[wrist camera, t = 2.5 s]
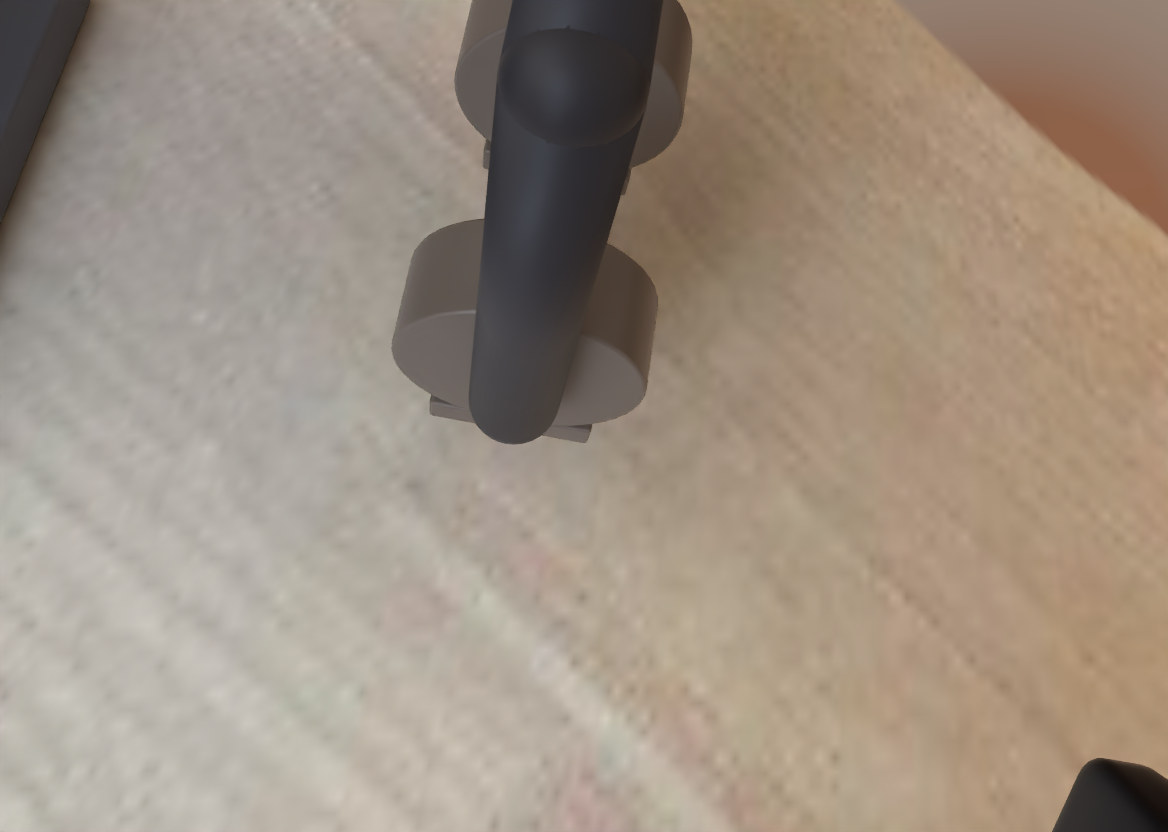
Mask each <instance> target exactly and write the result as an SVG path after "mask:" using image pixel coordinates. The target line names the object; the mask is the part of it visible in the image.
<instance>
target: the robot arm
mask: <svg viewBox="0 0 1168 832" xmlns="http://www.w3.org/2000/svg"><path fill="white" fill-rule="evenodd" d="M1052 832H1168V780H1167V779H1166V778H1164V777H1163V776H1161V775H1160V774H1159V773H1157V772H1156V771H1154V770H1153V769H1151V768H1149V767H1146V766H1143V765H1139V764H1134V763H1128V762H1122V761H1116V760H1111V759H1104V758H1096V759H1094V760H1091V761H1089V762H1088V763H1086V764H1085V765H1084V766H1083V767H1082V769H1081V771H1080V773H1079V774H1078V776H1077V778H1076V781H1075V783H1074V785H1073V787H1072V789H1071V792H1070V794H1069V796H1068V798H1067V800H1066V803H1065V805H1064V807H1063V809H1062V811H1061V813H1060V816H1059V818H1058V820H1057V822H1056V824H1055V827H1054V829H1053V831H1052Z"/></svg>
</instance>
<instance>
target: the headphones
mask: <svg viewBox="0 0 1168 832" xmlns="http://www.w3.org/2000/svg"><path fill="white" fill-rule="evenodd" d="M691 54H692V33H691V28H690V25H689V22H688V19H687V16H686V14H685V12H684V10H683V8H682V7H681V5H680V3H679V2H678V1H677V0H473V1H472V4H471V8H470V12H469V16H468V21H467V25H466V29H465V33H464V38H463V42H462V46H461V51H460V55H459V59H458V63H457V68H456V73H455V91H456V95H457V99H458V102H459V104H460V107H461V109H462V111H463V113H464V114H465V116H466V117H467V119H468V120H469V122H470V123H471V124H472V125H473V126H474V128H475V129H476V130H477V131H478V132H479V133H480V134H482V135H483V136H484V137H485V138H486V142H485V147H484V154H483V167H484V168H485V169H489V173H488V184H487V195H486V206H485V217H484V219H476V220H470V221H464V222H460V223H456V224H452V225H449V226H447V227H444V228H442V229H439V230H437V231H436V232H434V233H432V234H430V235H429V236H428V237H427V238H425V239H424V240H423V241H422V242H421V243H420V244H419V246H418V247H417V248H416V250H415V251H414V254H413V256H412V259H411V263H410V268H409V272H408V276H407V280H406V285H405V289H404V293H403V297H402V302H401V306H400V310H399V315H398V319H397V323H396V327H395V332H394V336H393V340H392V353H393V357H394V360H395V362H396V364H397V366H398V367H399V368H400V370H401V371H402V372H403V373H404V374H405V375H406V376H407V377H408V378H409V379H410V380H411V381H412V382H414V383H415V384H416V385H418V386H419V387H420V388H422V389H424V390H425V391H427V392H428V393H430V394H431V398H430V414H431V415H433V416H439V417H444V418H450V419H455V420H461V421H466V422H472V423H476V425H477V426H478V427H479V428H480V429H481V430H482V432H484V433H485V434H486V435H487V436H489V437H490V438H492V439H494V440H496V441H498V442H501V443H505V444H523V443H526V442H530V441H532V440H534V439H536V438H538V437H540V436H541V435H543V436H548V437H554V438H559V439H565V440H570V441H576V442H581V443H586V442H587V440H588V438H589V435H590V432H591V428H592V424H594V423H599V422H604V421H608V420H611V419H615V418H618V417H620V416H622V415H625V414H627V413H628V412H630V411H631V410H633V409H634V408H635V407H636V406H637V405H639V403H640V402H641V400H642V399H643V397H644V396H645V393H646V389H647V382H648V375H649V367H650V360H651V352H652V345H653V337H654V330H655V323H656V315H657V308H658V297H657V293H656V289H655V286H654V284H653V282H652V281H651V279H650V277H649V276H648V275H647V273H646V272H645V271H644V269H643V268H642V267H641V266H639V265H638V264H637V263H636V262H635V261H634V260H633V259H631V258H630V257H629V256H628V255H626V254H625V253H623V252H622V251H620V250H618V249H617V248H615V247H614V246H612V245H610V244H608V243H607V240H608V237H609V234H610V230H611V227H612V223H613V220H614V216H615V213H616V209H617V206H618V203H619V199H620V196H621V195H624V194H625V193H626V189H627V186H628V183H629V179H630V173H631V168H632V167H635V166H637V165H640V164H643V163H645V162H647V161H649V160H651V159H652V158H654V157H656V156H657V155H658V154H660V153H661V152H663V151H664V150H665V149H666V148H667V147H668V146H669V145H670V143H671V142H672V141H673V139H674V138H675V136H676V135H677V133H678V131H679V129H680V127H681V123H682V119H683V114H684V106H685V99H686V91H687V84H688V77H689V69H690V62H691Z"/></svg>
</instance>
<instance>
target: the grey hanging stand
mask: <svg viewBox="0 0 1168 832" xmlns="http://www.w3.org/2000/svg"><path fill="white" fill-rule="evenodd" d="M89 3H90V0H0V222H1V220H2V218H3V215H4V213H5V210H6V208H7V205H8V203H9V200H10V198H11V195H12V193H13V190H14V188H15V185H16V183H17V180H18V178H19V176H20V173H21V171H22V168H23V166H24V163H25V161H26V158H27V156H28V153H29V151H30V148H31V146H32V143H33V141H34V138H35V136H36V134H37V131H38V129H39V126H40V124H41V121H42V119H43V116H44V114H45V111H46V109H47V106H48V104H49V101H50V99H51V96H52V94H53V92H54V89H55V87H56V84H57V82H58V79H59V77H60V74H61V72H62V69H63V67H64V64H65V62H66V59H67V57H68V54H69V52H70V49H71V47H72V45H73V42H74V40H75V37H76V35H77V32H78V30H79V27H80V25H81V22H82V20H83V17H84V15H85V12H86V10H87V7H88V5H89Z"/></svg>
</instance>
